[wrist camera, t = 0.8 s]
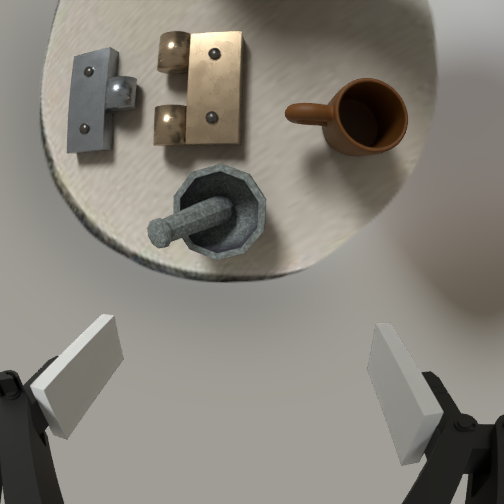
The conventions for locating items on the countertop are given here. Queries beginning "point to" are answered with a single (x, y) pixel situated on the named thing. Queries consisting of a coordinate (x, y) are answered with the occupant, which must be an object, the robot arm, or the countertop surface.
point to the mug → (357, 117)
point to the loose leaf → (96, 100)
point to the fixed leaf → (202, 89)
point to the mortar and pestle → (214, 213)
